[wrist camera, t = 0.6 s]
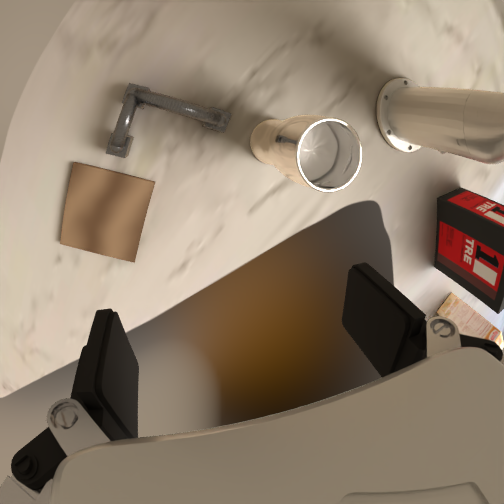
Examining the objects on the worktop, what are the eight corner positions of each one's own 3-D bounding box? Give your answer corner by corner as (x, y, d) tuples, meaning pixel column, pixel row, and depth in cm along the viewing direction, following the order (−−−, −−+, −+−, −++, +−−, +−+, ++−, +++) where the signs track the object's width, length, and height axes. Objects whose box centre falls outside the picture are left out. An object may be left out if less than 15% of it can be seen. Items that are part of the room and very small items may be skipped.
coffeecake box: (462, 310, 69) (504, 346, 52) (448, 328, 71) (488, 366, 53) (451, 290, 62) (502, 331, 45) (435, 312, 64) (484, 355, 47)
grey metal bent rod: (227, 114, 33) (234, 113, 29) (203, 176, 36) (208, 183, 32) (132, 86, 28) (127, 81, 24) (110, 151, 31) (102, 154, 27)
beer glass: (304, 153, 38) (373, 174, 25) (260, 176, 38) (312, 209, 24) (284, 107, 34) (348, 103, 21) (236, 130, 34) (279, 134, 21)
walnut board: (155, 181, 34) (154, 183, 33) (135, 259, 37) (134, 262, 37) (75, 161, 30) (73, 162, 29) (61, 241, 33) (60, 243, 33)
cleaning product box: (437, 198, 48) (518, 237, 30) (461, 187, 49) (535, 220, 31) (434, 267, 56) (498, 314, 38) (457, 252, 57) (518, 293, 39)
